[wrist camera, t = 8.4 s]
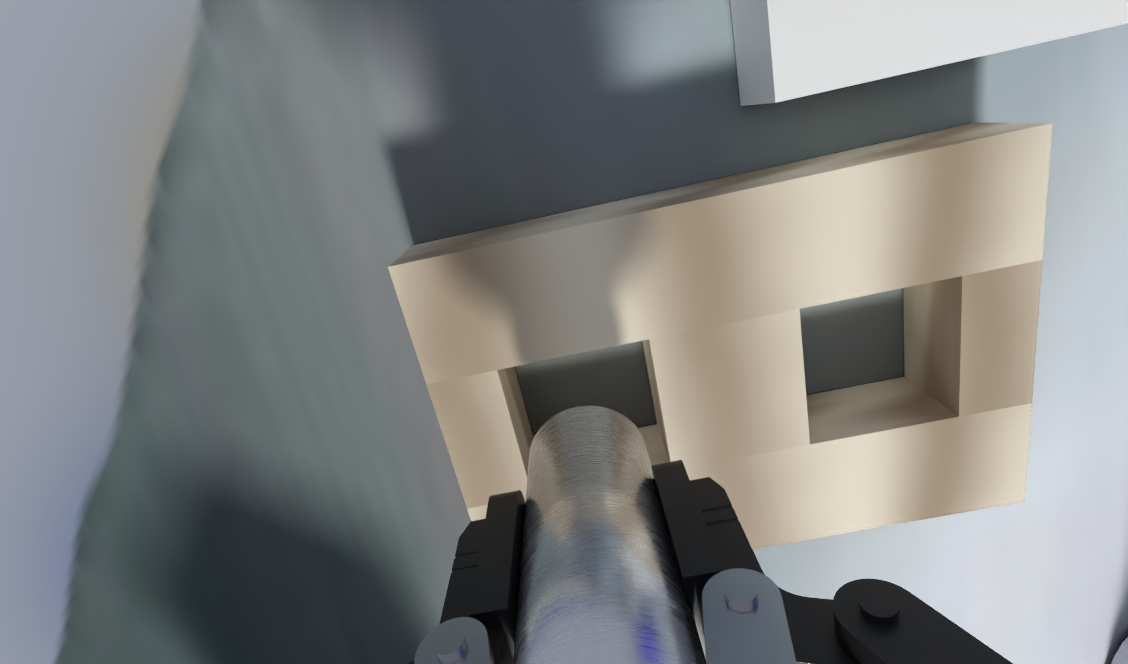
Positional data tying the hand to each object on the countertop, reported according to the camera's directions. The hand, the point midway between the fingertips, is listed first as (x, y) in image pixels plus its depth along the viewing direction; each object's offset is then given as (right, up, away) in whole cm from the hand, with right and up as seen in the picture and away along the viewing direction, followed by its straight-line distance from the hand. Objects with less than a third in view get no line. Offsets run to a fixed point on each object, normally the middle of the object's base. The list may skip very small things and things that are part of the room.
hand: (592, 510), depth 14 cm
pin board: (+4, +3, +7) cm, 9 cm away
